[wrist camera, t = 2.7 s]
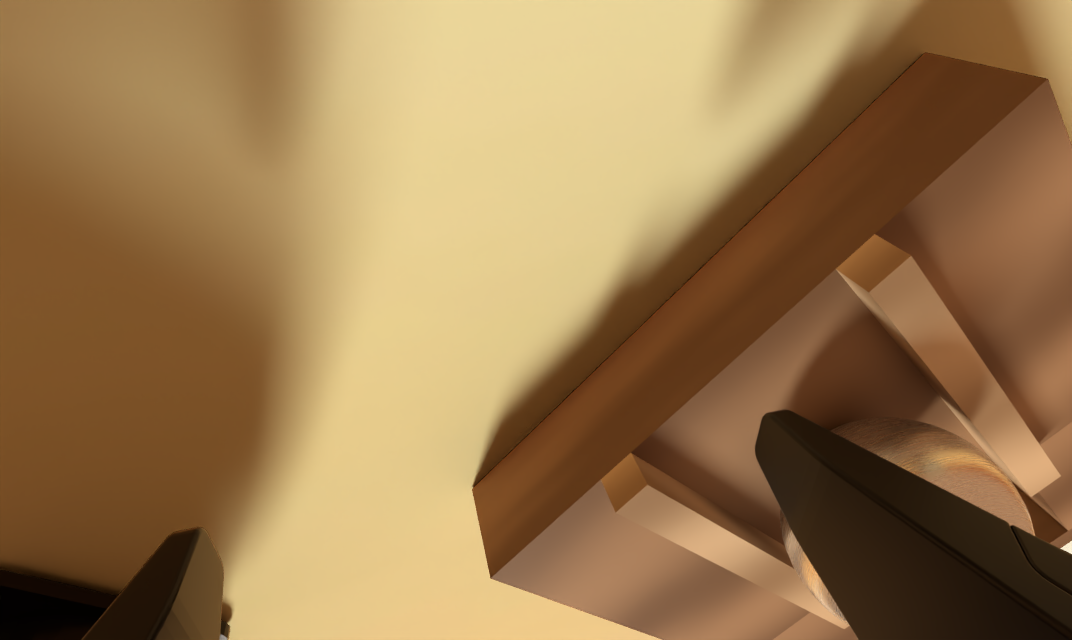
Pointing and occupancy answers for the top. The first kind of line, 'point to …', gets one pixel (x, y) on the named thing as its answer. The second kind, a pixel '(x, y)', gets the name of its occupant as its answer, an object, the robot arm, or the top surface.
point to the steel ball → (932, 460)
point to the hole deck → (815, 364)
